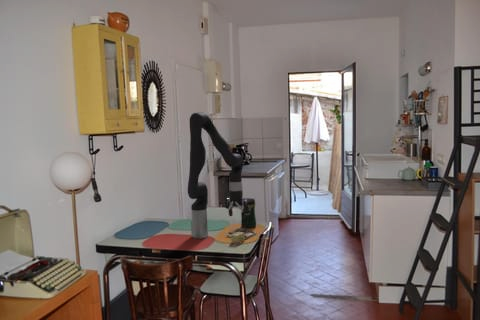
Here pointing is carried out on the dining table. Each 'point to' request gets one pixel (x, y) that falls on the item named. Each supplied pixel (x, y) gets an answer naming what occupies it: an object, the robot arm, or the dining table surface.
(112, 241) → the dining table surface
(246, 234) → the hinge board
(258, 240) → the dining table surface
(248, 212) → the coffee jar
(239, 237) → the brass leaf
